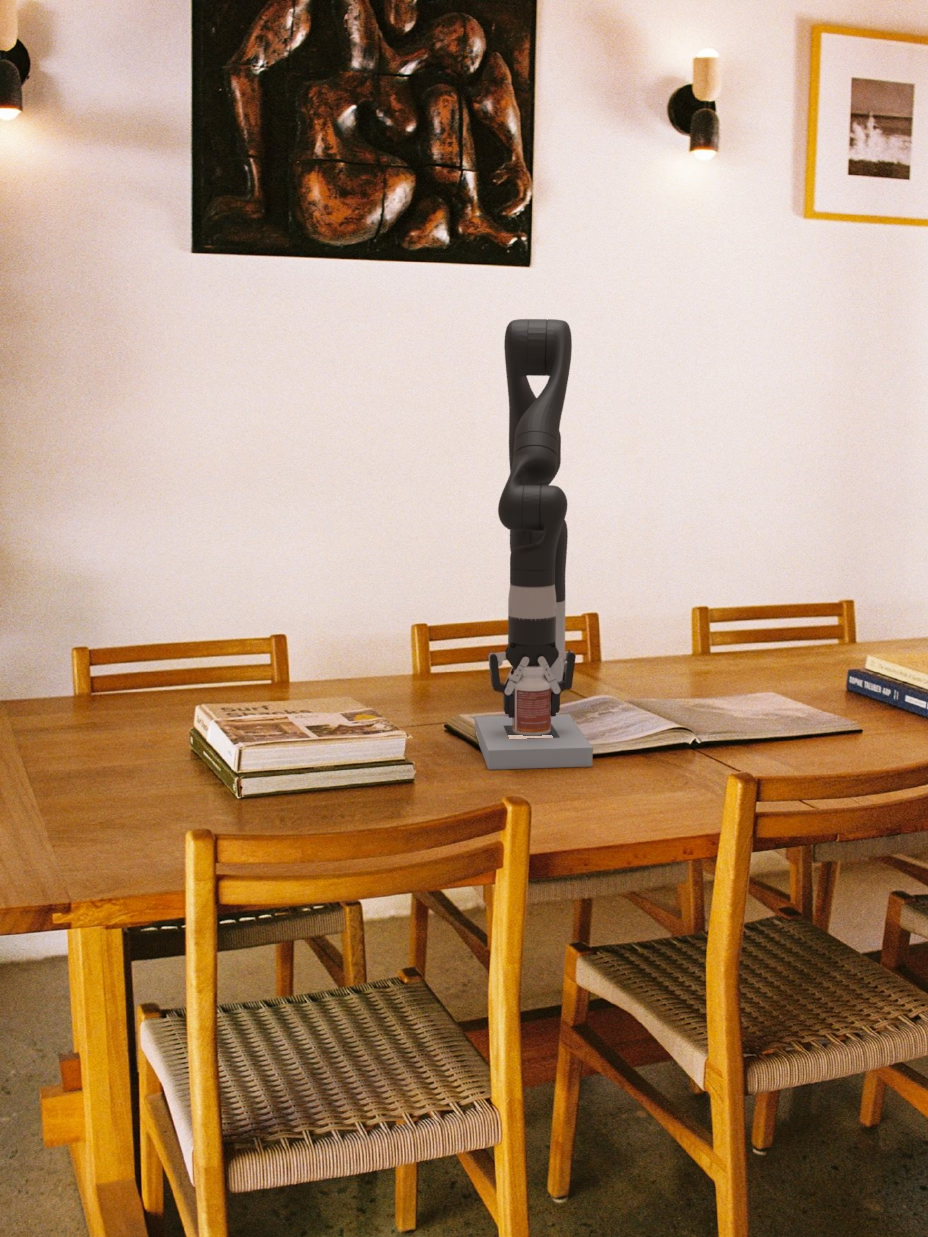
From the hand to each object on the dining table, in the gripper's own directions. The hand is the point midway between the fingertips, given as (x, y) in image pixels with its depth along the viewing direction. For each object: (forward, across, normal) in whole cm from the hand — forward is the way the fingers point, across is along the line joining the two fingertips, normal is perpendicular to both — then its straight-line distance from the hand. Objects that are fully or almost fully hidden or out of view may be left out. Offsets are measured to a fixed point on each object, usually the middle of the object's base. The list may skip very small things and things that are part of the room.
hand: (531, 715), depth 200 cm
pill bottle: (+3, 0, 0) cm, 3 cm away
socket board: (+6, 0, 0) cm, 6 cm away
